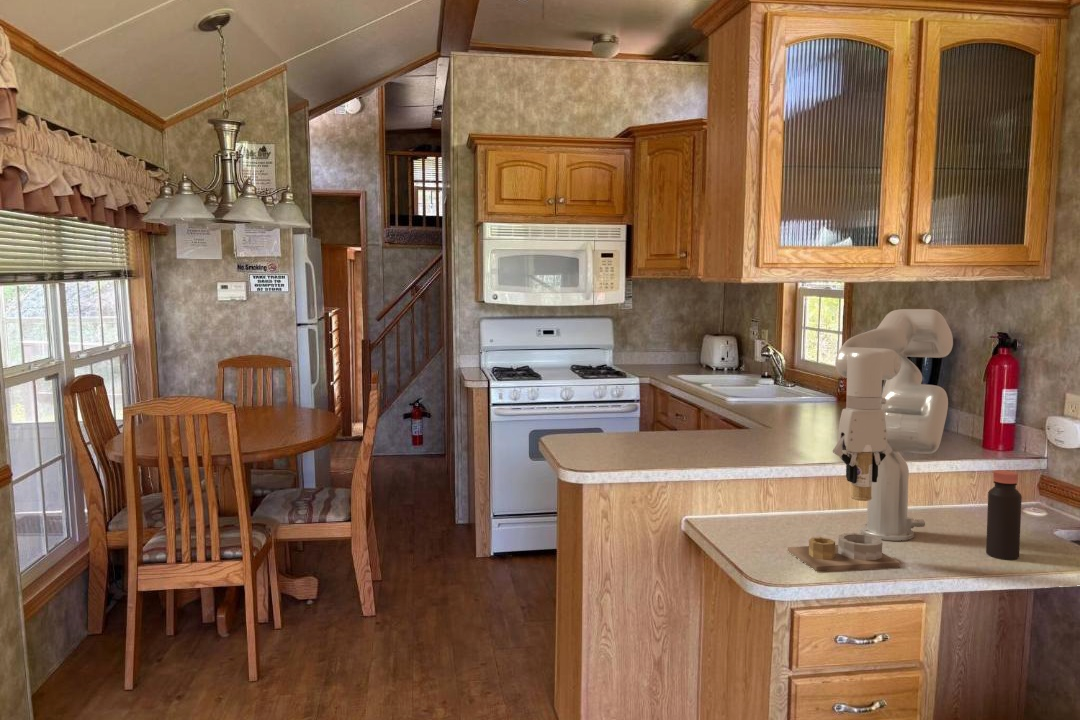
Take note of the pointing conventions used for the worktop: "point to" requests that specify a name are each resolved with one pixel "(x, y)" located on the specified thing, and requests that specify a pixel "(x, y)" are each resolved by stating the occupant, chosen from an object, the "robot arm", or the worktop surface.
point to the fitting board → (841, 561)
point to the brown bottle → (1004, 517)
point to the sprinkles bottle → (863, 475)
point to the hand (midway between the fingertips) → (861, 480)
